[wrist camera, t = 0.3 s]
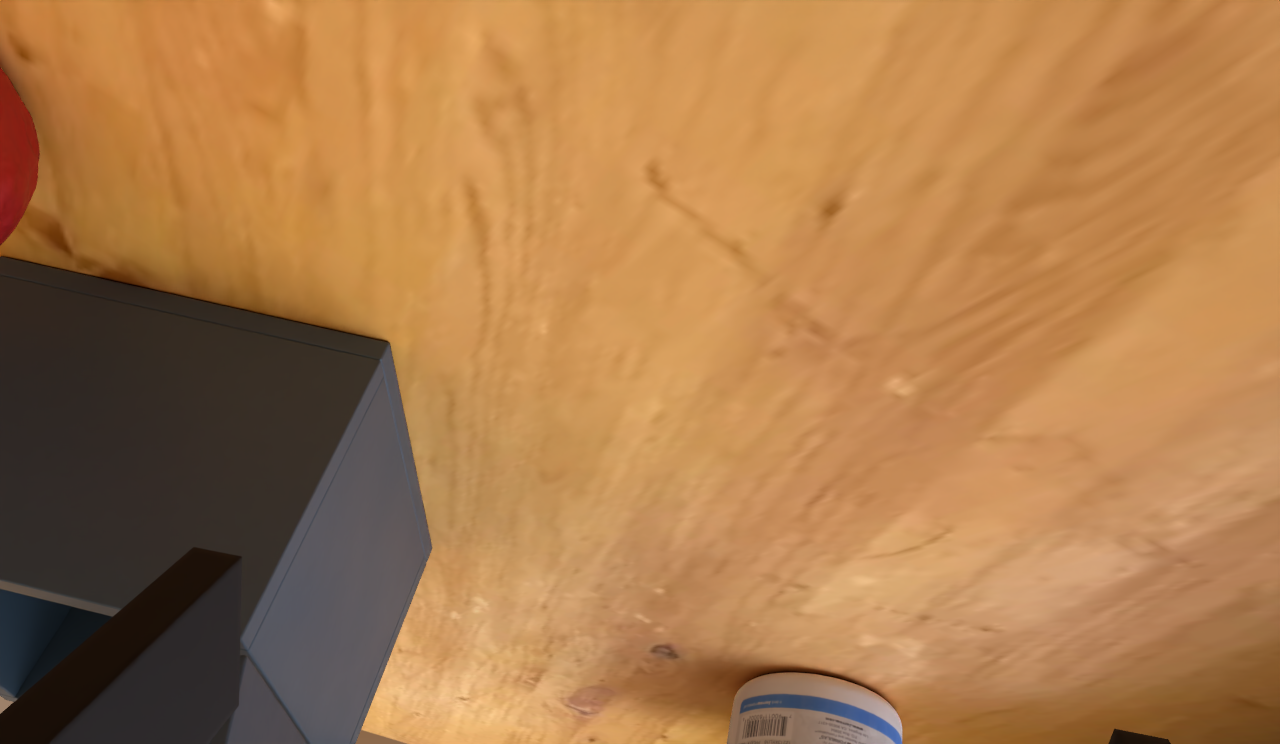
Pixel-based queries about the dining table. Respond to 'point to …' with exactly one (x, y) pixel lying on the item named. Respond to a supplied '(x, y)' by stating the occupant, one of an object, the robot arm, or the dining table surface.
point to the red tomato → (15, 157)
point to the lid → (257, 714)
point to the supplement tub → (810, 712)
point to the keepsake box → (203, 482)
